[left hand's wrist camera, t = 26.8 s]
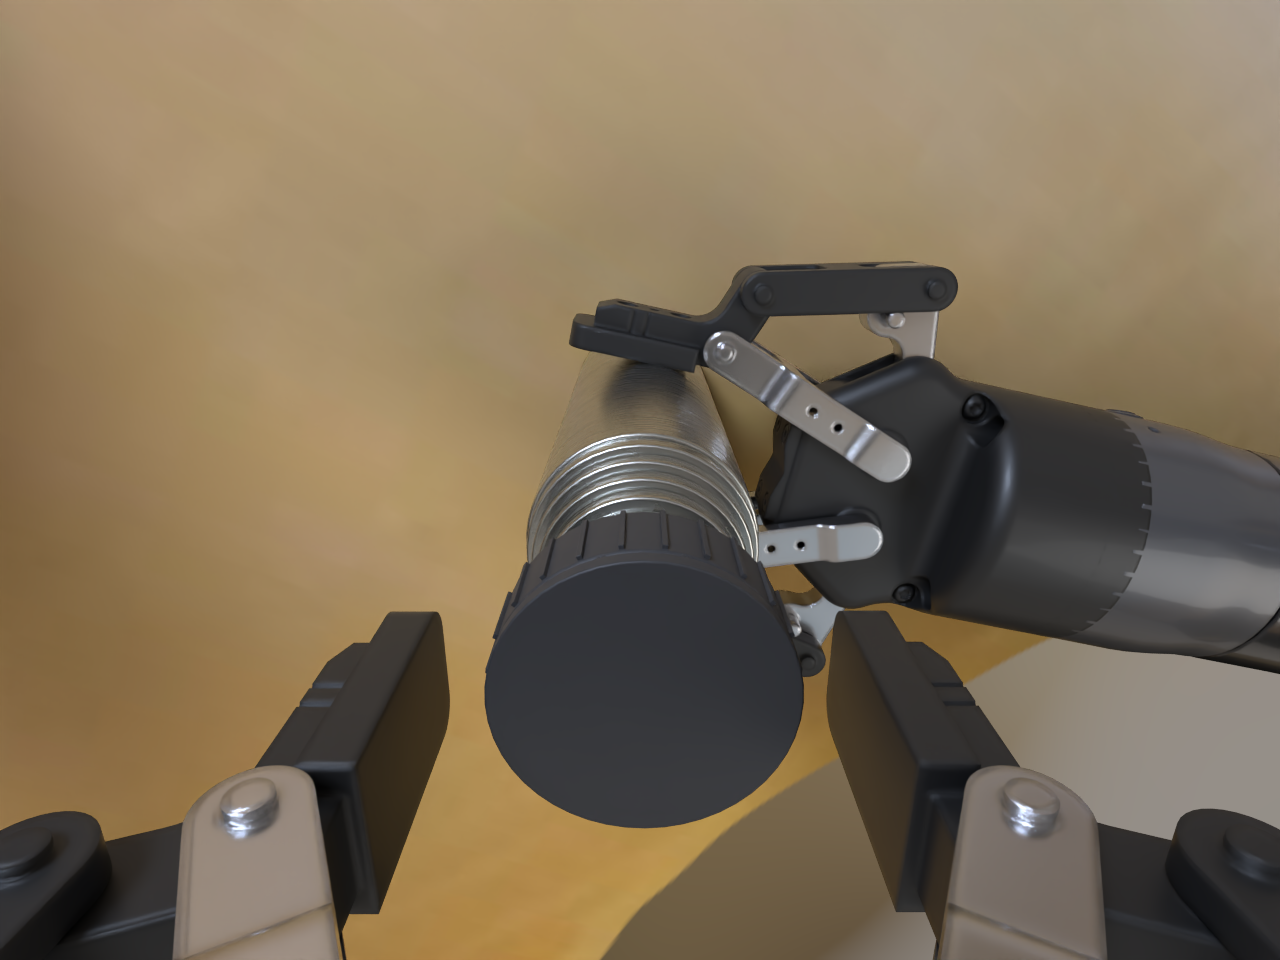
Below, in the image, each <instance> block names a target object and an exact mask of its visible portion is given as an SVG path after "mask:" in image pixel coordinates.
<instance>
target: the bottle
mask: <svg viewBox="0 0 1280 960" xmlns="http://www.w3.org/2000/svg"><path fill="white" fill-rule="evenodd" d="M622 510H626V513H638V512H649V513H660V510H665V511H666V514H670V515H675V516H682V517H685V518H688V519H691V520H694V521H698V519H702V520H704V524H705V525H707V526H709V527H711V528H713V529H716V530H718V531H719V532H721V533H722V534H724V535H726V536H727V537H729V538H732V537H733V536H734V537H735V538H737V541H738V544H739V545H740V546H741V547H742V548H743V549H744V550H746V551H747V552H748V553H749V554H750V556H751V557H752V558H753V559H754V560H755V561H756V562H758V556H759V526H758V521H757V516H756V512H755V509H754V506H753V503H752V500H751V497H750V495H749V492H748V490H747V487H746V484H745V482H744V479H743V477H742V474H741V471H740V469H739V466H738V463H737V461H736V458H735V456H734V453H733V450H732V448H731V445H730V442H729V440H728V437H727V435H726V432H725V429H724V427H723V424H722V422H721V419H720V416H719V414H718V411H717V408H716V406H715V403H714V401H713V398H712V395H711V393H710V390H709V387H708V385H707V382H706V380H705V377H704V374H703V372H702V369H701V367H700V366H699V365H696V367H695V371H694V373H690V372H686V371H681V370H676V369H672V368H667V367H664V366H660V365H654V364H648V363H644V362H639V361H634V360H630V359H625V358H620V357H616V356H611V355H606V354H602V353H597V352H592V351H591V352H590V353H589V354H588V356H587V358H586V359H585V361H584V364H583V366H582V368H581V371H580V374H579V376H578V379H577V382H576V385H575V388H574V390H573V393H572V396H571V399H570V401H569V404H568V407H567V410H566V412H565V415H564V418H563V421H562V424H561V426H560V429H559V432H558V435H557V437H556V440H555V443H554V446H553V448H552V451H551V454H550V457H549V460H548V462H547V465H546V468H545V471H544V473H543V476H542V479H541V482H540V484H539V487H538V490H537V493H536V496H535V498H534V501H533V504H532V507H531V511H530V514H529V518H528V524H527V532H526V542H527V561H528V563H529V564H530V563H531V562H532V560H533V559H534V558H535V557H536V556H537V555H538V554H539V553H540V552H541V551H542V550H543V549H544V548H546V547H547V546H548V543H549V540H550V539H551V538H552V537H554V538H555V540H556V539H557V538H559V537H560V536H562V535H564V534H565V533H567V532H568V531H570V530H572V529H574V528H576V527H579V526H581V525H582V521H584V520H586V519H587V520H588V522H591V521H594V520H597V519H600V518H602V517H606V516H613V515H618V514H620V511H622Z"/></svg>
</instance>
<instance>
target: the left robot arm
mask: <svg viewBox="0 0 1280 960" xmlns="http://www.w3.org/2000/svg"><path fill="white" fill-rule="evenodd" d="M449 709H450V694H449V683H448V674H447V664H446V655H445V645H444V636H443V626H442V621H441V617H440V615H439V613H438V612H390V613H388V614H387V616H386V617H385V619H384V620H383V622H382V624H381V625H380V627H379V629H378V630H377V632H376V633H375V635H374V637H373V638H372V640H371V641H370V643H353V644H352V645H350V646H349V647H348V648H346V649H345V650H343V651H342V652H341V653H339V654H338V655H337V656H335V657H334V658H332V659H331V660H330V661H328V662H327V664H326V665H325V666H324V668H323V669H322V671H321V672H320V674H319V675H318V677H317V678H316V680H315V681H314V682H313V686H312V688H309V690H308V691H307V693H306V694H305V695H304V697H303V698H302V700H301V701H300V706H299V707H296V709H295V710H294V711H293V713H292V714H291V716H290V717H289V719H288V720H287V722H286V723H285V725H284V726H283V727H282V729H281V730H280V732H279V733H278V735H277V736H276V738H275V739H274V740H273V742H272V743H271V745H270V746H269V748H268V749H267V751H266V752H265V754H264V755H263V756H262V758H261V759H260V761H259V762H258V764H257V765H256V767H255V768H254V769H250V770H247V771H244V772H241V773H238V774H236V775H234V776H232V777H229V778H227V779H225V780H224V781H222V782H220V783H218V784H217V785H215V786H214V787H212V788H211V789H209V790H208V791H207V792H206V793H204V794H203V795H202V796H201V797H200V798H199V799H198V800H197V801H196V802H195V803H194V804H193V805H192V807H191V808H190V810H189V811H188V813H187V815H186V817H185V819H184V821H183V822H182V823H179V824H176V825H173V826H169V827H166V828H162V829H157V830H153V831H149V832H145V833H140V834H136V835H132V836H128V837H123V838H119V839H115V840H110V841H106V842H105V840H104V837H103V834H102V831H101V828H100V825H99V823H98V822H97V820H96V819H95V818H93V817H92V816H90V815H88V814H86V813H82V812H76V811H63V812H53V813H49V814H44V815H40V816H36V817H33V818H29V819H26V820H24V821H21V822H19V823H16V824H14V825H11V826H9V827H7V828H5V829H3V830H1V831H0V960H347V956H346V950H345V945H344V939H343V934H342V930H343V928H344V925H345V923H346V920H347V918H348V916H349V914H379V912H380V909H381V906H382V904H383V901H384V898H385V896H386V893H387V890H388V888H389V885H390V882H391V880H392V877H393V874H394V871H395V869H396V866H397V863H398V861H399V858H400V855H401V853H402V850H403V847H404V844H405V842H406V839H407V836H408V834H409V831H410V828H411V826H412V823H413V820H414V817H415V815H416V812H417V809H418V807H419V804H420V801H421V799H422V796H423V793H424V790H425V788H426V785H427V782H428V780H429V777H430V774H431V772H432V769H433V766H434V763H435V761H436V758H437V755H438V753H439V750H440V747H441V745H442V742H443V739H444V736H445V733H446V730H447V725H448V719H449ZM827 715H828V722H829V727H830V731H831V734H832V737H833V740H834V743H835V746H836V748H837V751H838V754H839V757H840V759H841V762H842V765H843V768H844V770H845V773H846V776H847V779H848V781H849V784H850V787H851V789H852V792H853V795H854V798H855V800H856V803H857V806H858V809H859V811H860V814H861V817H862V820H863V822H864V825H865V828H866V831H867V833H868V836H869V839H870V842H871V844H872V847H873V850H874V853H875V855H876V858H877V861H878V864H879V866H880V869H881V872H882V875H883V877H884V880H885V883H886V886H887V888H888V891H889V894H890V897H891V899H892V902H893V905H894V908H895V910H896V912H926V915H927V917H928V920H929V922H930V925H931V927H932V929H933V932H934V934H935V937H936V945H935V950H934V956H933V960H1280V830H1279V829H1277V828H1275V827H1273V826H1271V825H1269V824H1267V823H1265V822H1262V821H1260V820H1257V819H1255V818H1252V817H1249V816H1246V815H1243V814H1239V813H1236V812H1231V811H1226V810H1219V809H1198V810H1193V811H1191V812H1188V813H1186V814H1185V815H1183V816H1182V817H1181V818H1180V820H1179V821H1178V823H1177V826H1176V829H1175V832H1174V835H1173V839H1172V840H1167V839H1163V838H1159V837H1155V836H1150V835H1146V834H1142V833H1137V832H1133V831H1129V830H1124V829H1120V828H1116V827H1112V826H1108V825H1104V824H1101V823H1097V821H1096V819H1095V817H1094V815H1093V813H1092V811H1091V810H1090V808H1089V807H1088V805H1087V804H1086V803H1085V802H1084V801H1083V800H1082V799H1081V798H1080V797H1079V796H1078V795H1077V794H1075V793H1074V792H1073V791H1072V790H1071V789H1069V788H1068V787H1066V786H1065V785H1063V784H1062V783H1060V782H1058V781H1056V780H1054V779H1053V778H1051V777H1048V776H1046V775H1044V774H1042V773H1039V772H1036V771H1033V770H1030V769H1026V768H1021V767H1020V766H1019V765H1018V763H1017V762H1016V760H1015V759H1014V757H1013V756H1012V754H1011V753H1010V751H1009V750H1008V748H1007V747H1006V745H1005V744H1004V742H1003V741H1002V740H1001V738H1000V737H999V735H998V734H997V732H996V731H995V729H994V728H993V726H992V725H991V723H990V722H989V720H988V719H987V718H986V716H985V715H984V713H983V712H982V710H981V709H980V707H979V706H976V705H975V700H974V698H973V697H972V695H971V694H970V693H969V691H968V690H967V688H966V687H963V682H962V681H961V679H960V678H959V676H958V675H957V673H956V672H955V670H954V669H953V668H952V666H951V665H950V663H949V662H948V660H946V659H945V658H943V657H942V656H941V655H939V654H938V653H936V652H935V651H934V650H932V649H931V648H930V647H928V646H927V645H925V644H924V643H923V642H906V641H905V639H904V638H903V636H902V634H901V633H900V631H899V630H898V628H897V626H896V625H895V623H894V621H893V620H892V618H891V617H890V615H889V614H888V613H887V612H886V611H838V612H837V614H836V617H835V621H834V627H833V637H832V647H831V657H830V666H829V676H828V686H827Z"/></svg>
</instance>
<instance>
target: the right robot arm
mask: <svg viewBox="0 0 1280 960" xmlns="http://www.w3.org/2000/svg"><path fill="white" fill-rule="evenodd" d="M957 290H958V283H957V279H956V277H955V275H954V274H953V273H952V272H951V271H950V270H948V269H946V268H942V267H937V266H932V265H927V264H922V263H917V262H912V261H899V262H863V263H827V264H791V265H754V266H747V267H744V268H742V269H741V270H739V271H738V272H737V273H736V275H735V276H734V278H733V281H732V285H731V287H730V288H729V290H728V291H727V293H726V294H725V296H724V298H723V299H722V301H721V302H720V304H719V305H718V306H717V307H716V308H715V309H714V310H713V311H711V312H710V313H708V314H705V315H700V316H694V315H689V314H684V313H680V312H675V311H671V310H666V309H662V308H657V307H652V306H647V305H643V304H639V303H634V302H630V301H625V300H621V299H612V300H606V301H601V302H599V304H598V306H597V309H596V315H595V316H593V315H588V314H576V316H575V318H574V320H573V324H572V329H571V335H570V340H569V344H570V345H571V346H573V347H576V348H579V349H583V350H588V351H592V352H597V353H602V354H606V355H611V356H616V357H620V358H625V359H630V360H634V361H639V362H644V363H648V364H654V365H660V366H664V367H667V368H672V369H676V370H681V371H686V372H690V373H694V371H695V367H696V365H699V366H704V367H709V368H710V369H712V370H713V371H715V372H716V373H718V374H719V375H721V376H722V377H724V378H726V379H727V380H729V381H730V382H732V383H733V384H735V385H737V386H738V387H740V388H741V389H743V390H744V391H746V392H748V393H749V394H751V395H752V396H754V397H755V398H757V399H758V400H760V401H761V402H762V403H763V404H765V405H766V406H767V407H768V408H769V409H771V410H772V411H774V412H775V413H776V414H778V415H777V419H776V422H775V426H774V429H773V454H772V456H771V458H770V460H769V461H768V463H767V465H766V466H765V468H764V470H763V471H762V473H761V475H760V478H759V482H758V485H757V489H756V491H750V492H749V495H750V497H751V500H752V503H753V506H754V509H755V512H756V516H757V521H758V526H759V556H758V562H759V561H761V562H762V563H763V566H764V568H766V567H774V566H782V565H790V564H794V565H795V566H796V568H797V569H798V570H799V571H800V572H801V573H802V574H803V575H804V576H805V577H806V578H807V579H808V581H809V582H810V583H811V584H812V585H813V586H814V588H812V589H811V590H809V591H807V592H804V593H794V592H791V591H784V590H779V593H780V596H781V598H782V601H783V604H784V607H785V609H786V612H787V615H788V618H789V620H790V623H791V626H792V629H793V632H794V634H795V637H792V639H793V642H794V645H795V648H796V650H797V653H798V656H799V659H800V662H801V665H802V669H803V671H802V677H810V676H814V675H816V674H818V673H819V672H820V671H821V670H822V669H823V668H824V666H825V662H826V659H825V655H824V653H823V650H822V648H821V645H822V643H823V641H824V640H825V638H826V637H827V635H828V634H829V632H830V631H831V629H832V628H833V626H834V621H835V617H836V614H837V612H838V611H844V609H845V608H847V609H855V608H861V607H865V606H868V605H872V604H878V603H894V604H898V605H902V606H905V607H908V608H911V609H914V610H917V611H920V612H924V613H928V614H932V615H937V616H942V617H947V618H952V619H958V620H963V621H968V622H973V623H978V624H984V625H989V626H994V627H999V628H1004V629H1009V630H1015V631H1020V632H1025V633H1030V634H1036V635H1041V636H1046V637H1052V638H1057V639H1062V640H1067V641H1072V642H1077V643H1082V644H1087V645H1093V646H1097V647H1102V648H1107V649H1114V650H1120V651H1128V652H1140V653H1158V654H1177V655H1184V656H1192V657H1196V658H1201V659H1206V660H1211V661H1216V662H1221V663H1227V664H1232V665H1237V666H1242V667H1247V668H1253V669H1257V670H1263V671H1268V672H1272V673H1277V674H1280V457H1277V456H1272V455H1267V454H1263V453H1258V452H1254V451H1249V450H1244V449H1240V448H1236V447H1233V446H1230V445H1227V444H1224V443H1221V442H1218V441H1216V440H1213V439H1211V438H1208V437H1206V436H1203V435H1201V434H1198V433H1195V432H1192V431H1189V430H1186V429H1183V428H1179V427H1175V426H1171V425H1167V424H1164V423H1160V422H1155V421H1150V420H1146V419H1143V417H1140V416H1137V415H1135V414H1134V413H1131V412H1126V411H1120V410H1112V409H1107V410H1100V409H1096V408H1091V407H1087V406H1082V405H1077V404H1073V403H1068V402H1064V401H1059V400H1055V399H1050V398H1045V397H1041V396H1036V395H1032V394H1027V393H1023V392H1018V391H1013V390H1009V389H1004V388H1000V387H995V386H990V385H986V384H981V383H977V382H972V381H968V380H963V379H960V378H957V377H955V376H954V375H953V374H952V373H951V372H950V371H949V370H948V369H947V368H946V367H945V366H944V365H943V364H941V363H940V362H938V361H937V360H934V353H935V344H936V335H937V326H938V317H939V311H941V310H943V309H945V308H946V307H948V306H949V305H950V304H951V303H952V302H953V300H954V299H955V297H956V294H957ZM837 314H859V319H860V322H861V324H862V325H863V327H864V328H866V329H867V330H869V331H871V332H872V333H874V334H876V335H878V336H881V337H887V338H889V339H890V340H891V342H892V344H893V348H894V353H891V354H889V355H887V356H884V357H882V358H879V359H877V360H875V361H872V362H870V363H868V364H865V365H863V366H860V367H858V368H856V369H853V370H851V371H848V372H846V373H844V374H841V375H839V376H836V377H834V378H832V379H829V380H827V381H824V382H822V383H821V382H819V381H818V380H816V379H815V378H813V377H812V376H810V375H809V374H807V373H806V372H804V371H803V370H801V369H800V368H798V367H796V366H795V365H793V364H792V363H790V362H789V361H787V360H786V359H784V358H783V357H781V356H780V355H778V354H776V353H775V352H773V351H771V350H769V349H767V348H766V347H764V346H763V345H761V344H760V343H758V342H757V341H755V340H754V339H755V337H756V336H757V334H758V333H759V331H760V330H761V328H762V327H763V325H764V324H765V322H766V321H767V320H768V318H769V317H770V316H801V315H837ZM756 509H757V510H756Z"/></svg>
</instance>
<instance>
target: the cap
mask: <svg viewBox="0 0 1280 960" xmlns="http://www.w3.org/2000/svg"><path fill="white" fill-rule="evenodd" d="M792 637H795V634H794V632H793V629H792V626H791V623H790V620H789V618H788V615H787V612H786V609H785V607H784V604H783V601H782V598H781V596H780V593H779V591H778V590H777V591H774V589H773V587H772V585H771V583H770V581H769V579H768V577H767V575H766V572H765V569H764V566H763V563H762V562H761V561H759V562H756V561H755V560H754V559H753V558H752V557H751V556H750V554H749V553H748V552H747V551H746V550H744V549H743V548H742V547H741V546H740V545H739V544H738V541H737V538H735V537H734V536H733V537H732V538H729V537H727V536H726V535H724V534H722V533H721V532H719V531H718V530H716V529H713V528H711V527H709V526H707V525H705V524H704V520H702V519H698V521H694V520H691V519H688V518H685V517H682V516H675V515H670V514H666V511H665V510H660V513H649V512H638V513H626V510H622V511H620V514H618V515H613V516H606V517H602V518H600V519H597V520H594V521H591V522H588V520H587V519H586V520H584V521H582V525H581V526H579V527H576V528H574V529H572V530H570V531H568V532H567V533H565V534H564V535H562V536H560V537H559V538H557V539H556V540H555V538H554V537H552V538H551V539H550V540H549V543H548V546H547V547H546V548H544V549H543V550H542V551H541V552H540V553H539V554H538V555H537V556H536V557H535V558H534V559H533V560H532V562H531V563H530V564H529V563H528V562H526V563H525V564H524V566H523V569H522V572H521V575H520V578H519V580H518V582H517V584H516V586H515V588H514V590H513V592H512V593H511V592H508V594H507V597H506V600H505V603H504V606H503V608H502V611H501V614H500V617H499V620H498V623H497V626H496V629H495V632H494V635H493V638H494V639H495V642H494V645H493V648H492V651H491V654H490V657H489V660H488V663H487V666H486V671H485V673H486V680H485V708H486V714H487V720H488V724H489V727H490V730H491V733H492V736H493V739H494V741H495V743H496V745H497V747H498V749H499V751H500V753H501V755H502V756H503V758H504V759H505V760H506V762H507V763H508V765H509V766H510V768H511V769H512V770H513V771H514V772H515V773H516V775H517V776H518V777H519V778H520V779H521V780H522V781H523V782H524V783H525V784H526V785H527V786H528V787H530V788H531V789H532V790H533V791H534V792H536V793H537V794H538V795H539V796H541V797H542V798H544V799H546V800H547V801H549V802H550V803H552V804H553V805H555V806H557V807H559V808H561V809H563V810H565V811H567V812H569V813H571V814H574V815H576V816H579V817H582V818H584V819H587V820H591V821H595V822H598V823H602V824H606V825H613V826H620V827H628V828H658V827H668V826H675V825H681V824H686V823H689V822H693V821H697V820H700V819H703V818H706V817H709V816H711V815H714V814H716V813H719V812H721V811H723V810H725V809H727V808H729V807H731V806H733V805H735V804H736V803H738V802H739V801H741V800H742V799H744V798H745V797H747V796H748V795H750V794H751V793H752V792H754V791H755V790H756V789H757V788H758V787H759V786H761V785H762V784H763V783H764V782H765V781H766V780H767V779H768V778H769V777H770V776H771V774H772V773H773V772H774V771H775V770H776V769H777V768H778V766H779V765H780V763H781V762H782V760H783V759H784V757H785V756H786V755H787V753H788V751H789V749H790V747H791V745H792V743H793V741H794V739H795V736H796V733H797V730H798V727H799V724H800V721H801V716H802V710H803V703H804V684H803V677H802V671H803V669H802V665H801V662H800V659H799V656H798V653H797V650H796V648H795V645H794V642H793V639H792Z"/></svg>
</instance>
